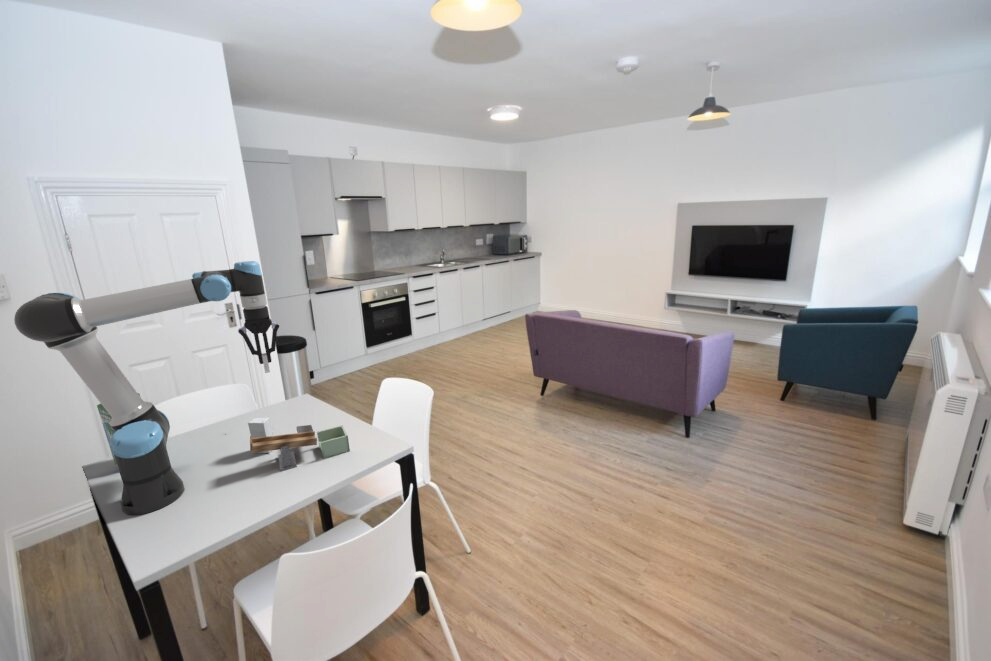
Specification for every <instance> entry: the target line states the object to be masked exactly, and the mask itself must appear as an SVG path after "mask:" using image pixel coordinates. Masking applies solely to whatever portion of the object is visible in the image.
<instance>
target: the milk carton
mask: <svg viewBox="0 0 991 661" xmlns="http://www.w3.org/2000/svg"><path fill="white" fill-rule="evenodd" d="M137 393H138V392H137ZM138 395H139V396H140V397H141V394H140V393H138ZM96 407H97V411H98V414H99V417H100V420H101V423H102V426H103V427H102V428H103V429H104V432H105V437H106V439H107V443H108V447H109V449H110V452H111V456H112V459H113V462H114V464H115V466H117V463H116V460H115V456H114V453H113V452H112V449H111V437H112V435H113V434H114V433H115V431H114V430H113V428H112V427H111V426H110V422H111V419H112V417H111V416H110V414H109V413H108V412H107V410H106V409H105V408H104V407H103V405H102V404H101V403H100V402H99V404H97V405H96Z"/></svg>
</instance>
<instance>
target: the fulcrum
mask: <svg viewBox="0 0 991 661" xmlns="http://www.w3.org/2000/svg"><path fill="white" fill-rule="evenodd" d="M284 435H286V434H284ZM280 452H281V454H278V455H277V456H278V457H277V458H278V465H279V470H280V472H283V471H287V470H291V469H294V468H297V461H296V456H295V452H294V450H292V451H290V448H289V446H288V445H285V446H281V449H280Z"/></svg>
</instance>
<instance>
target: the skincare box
mask: <svg viewBox="0 0 991 661" xmlns="http://www.w3.org/2000/svg"><path fill="white" fill-rule="evenodd" d="M247 425H248V429H249V434H250V436H252V438H259V437H268V436H275V435H274V431H273V425H272V420H271V418H270V417H254V418H253V419H251V420H250V421H248V423H247ZM271 452H272V451H264V452H257V453H256V454H270V453H271Z"/></svg>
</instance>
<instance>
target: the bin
mask: <svg viewBox="0 0 991 661" xmlns="http://www.w3.org/2000/svg"><path fill="white" fill-rule="evenodd" d="M316 435H317V442H318V445H319V450H320V453H321V456H322V458H323V459H326V458H331V457H333V456H336V455H341V454H344V453H346V452H351V450H350V444H349V436H348V433H347V431H346V429H345V427H344V425H343V424H342V425H338V426H335V427H334V426H333V427H330V428H326V429H323V430H319V431H316ZM333 438H334V439H333Z"/></svg>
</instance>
